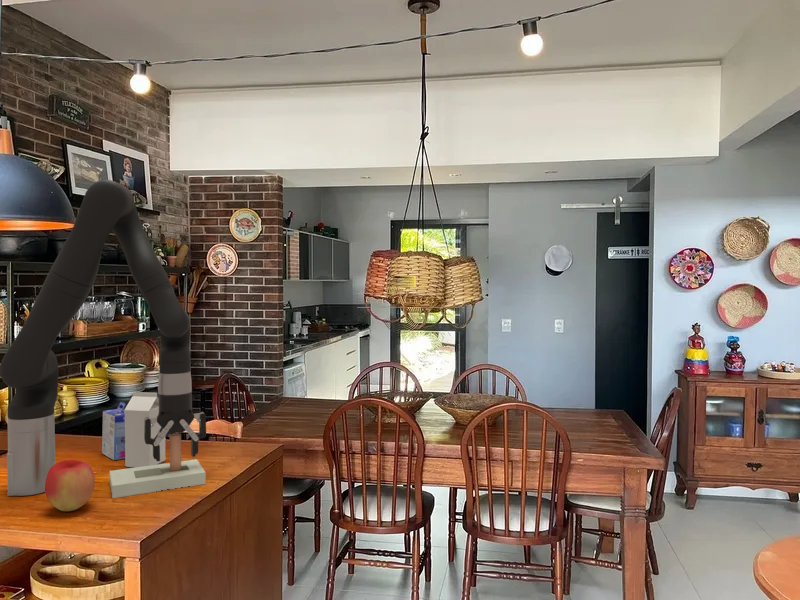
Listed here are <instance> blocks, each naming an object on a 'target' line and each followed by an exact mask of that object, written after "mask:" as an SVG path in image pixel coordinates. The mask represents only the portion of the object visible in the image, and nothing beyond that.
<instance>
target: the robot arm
mask: <svg viewBox="0 0 800 600" xmlns="http://www.w3.org/2000/svg"><path fill="white" fill-rule="evenodd" d="M111 232H113V234H114V235H115V236H116V239H117V240H118V242H119V244H120V246H121V248H122V250H123V254H124V256H125V260H126V262H127V265H128V269H129V271H130V275H131V276H132V278H133V280H134V282H135V284H136V285H137V288H138V290H139V292H140V293H141V296H142V297H143V299H144V300H145V301H146V303H147V306H148V308H149V310H150V313H151V315H152V317H153V320H154V322H155V324H156V327H157V328H158V330H159V331H160V352H159V356H158V360H159V367H158V368H159V371H158V372H159V373H158V383H157V391H158V392H157V397H158V398H159V414H158V416H157V418H149V417H146V418H145V419H144V441H145V443H146V444H150V445H153V457H154V459H156V461H160V445H159V443H160V442H161V440H162V439H163V438H164V437H165V438H166V435H167V434H168V435H171V434H181V433H182V434H183V433H184V432H186V433H188V435H189V437H190V438H191V440H190V455H191V457H192V458H193V457H196V455H198V453H199V441H200V440H201V439H205V438H206V437H207V415H206V414H205V413H204V411H200V412H198V413H193V398H192V397H193V394H192V392H193V389H192V386H193V385H192V374H191V353H190V341H191V340H190V339H191V318H190V315H189V314H188V312H187V311H185V310H184V308H183V305H182V304H181V302H180V301H179V299H178V297H177V295H176V293H175V289H174V286H173V283H172V282H171V280H170V278H169V276H168V275H167V272H166V270H165V269H164V267H163V265H162V262H161V261H160V259H159V258H158V255H157V254H156V252H155V250H154V248H153V246H152V244H151V242H150V240H149V239H148V236H147V234H146V232H145V229H144V226H143V224H142V222H141V219H140V216H139V212H138V210H137V206H136V203H135V199H134V197H133V194H132V193H131V191H130V190H129V189H128V188H127V187H126V186H124V185H123V184H121V183H119V182H117V181H115V180H111V179H101V180H98V181H95V182H94V183H92V184H91V185H90V186H89V187H88V188H87V190H86V192H85V193H84V196H83V199H82V202H81V203H80V207H79V210H78V214H77V216H76V219H75V222H74V223H73V226H72V229H71V231H70V233H69V235H68V236H67V238H66V240H65V241H64V244H63V245H62V247H61V249H60V251H59V252H58V254H57V257H56V258H55V260H54V262H53V264H52V265H51V267H50V270H49V271H48V274H47V276H46V277H45V280H44V281H43V284H42V286H41V287H40V291H39V293H38V295H37V297H36V299H35V301H34V302H33V305H32V307H31V310H30V311H29V314H28V316H27V318H26V320H25V321H24V324H23V326H22V327H21V328H20V331H19V333H18V334H17V336H15V338H14V340H13V341H12V343H11V345H10V347H9V348H8V350H7V351H6V353H5V354H4V355H3V357H2V359H1V362H0V377H1V380H2V381H3V383H4V384H5V385H6V386H8V387H9V388H11V389H14V395H13V398H12V399H11V402H9V404H8V406H7V411H6V412H7V416H6V417H7V454H6V476H7V477H6V480H7V483H6V485H7V486H6V487H7V497H13V496H15V497H16V496H17V497H18V496H19V497H21V496H33V495H34V496H35V495H38V494H43V493H45V482H46V478H47V474H48V471H49V469H50V468H51V466H53V465H54V464H56V434H55V427H56V426H55V425H56V424H55V407H56V403H57V401H58V394H59V391H58V390H59V363H58V359H57V356H56V354H55V352H54V351H53V350H52V348H53V345H54V343H55V341H56V339H57V337H58V336H59V334H60V333H61V332H62V330H63V329H64V328H65V327H66V326H67V324H68V323H69V322H70V321H71V320H72V319H73V318H74V317H75V316H76V315H77V313H78V312H79V311H80V310H81V307H82V306H83V305H84V304H85V302H86V300H87V298H88V296H89V294H90V292H91V290H92V288H93V286H94V283H95V281H96V279H97V275H98V272H99V267H100V264H101V259H102V253H103V249H104V246H105V243H106V241H107V239H108V237H109V236H110V234H111ZM194 419H195V420H196V421H197V422H198V423H199V424H198V431H199V432H197V433H195V431H194V429H192V427H191V426H190V425H191V423H192V422H193V420H194ZM156 422H157V423H158V424H159V425H160V426H161V428H160V430H159V431H158V433H157V435H156V436H155V438H154V439H153V438H151V427H153V426H154V424H155V423H156Z"/></svg>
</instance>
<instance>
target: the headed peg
mask: <svg viewBox="0 0 800 600" xmlns="http://www.w3.org/2000/svg"><path fill="white" fill-rule="evenodd" d="M181 461H182V434H181V433H173V434H169V463H170V472H174V471H181Z"/></svg>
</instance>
